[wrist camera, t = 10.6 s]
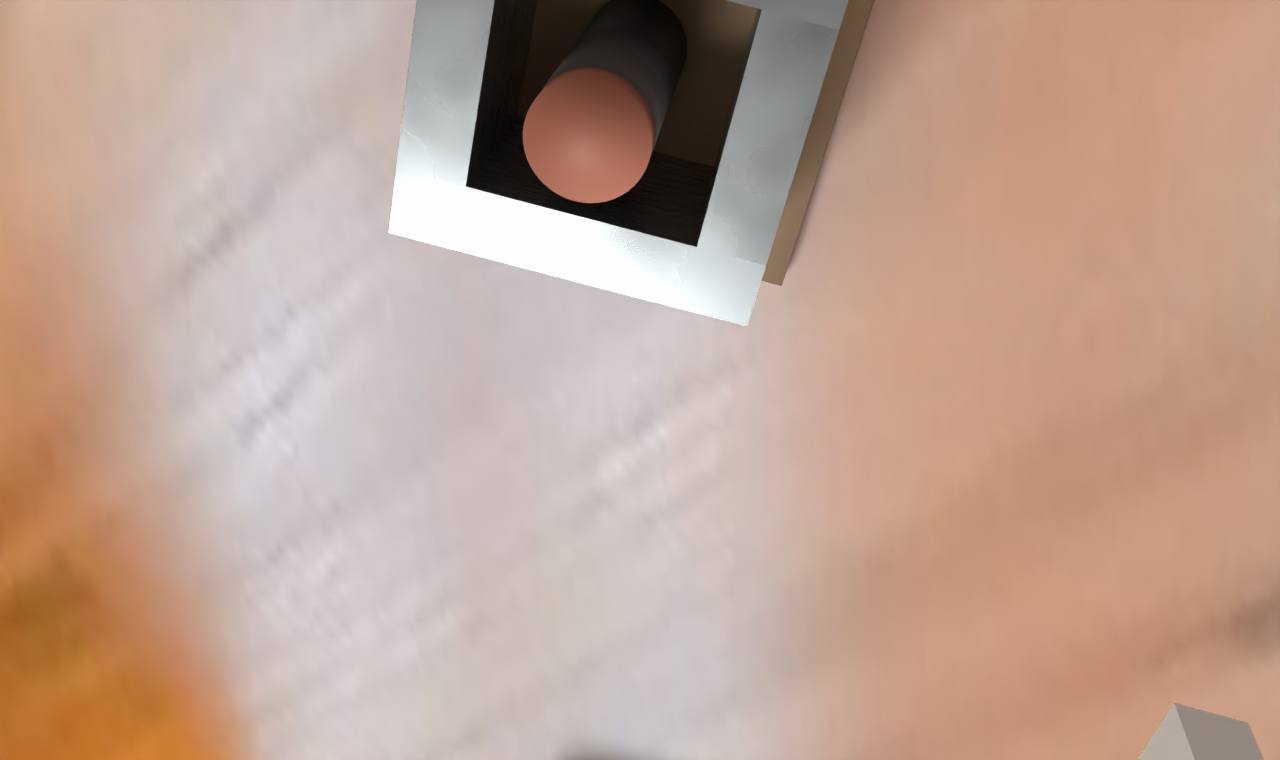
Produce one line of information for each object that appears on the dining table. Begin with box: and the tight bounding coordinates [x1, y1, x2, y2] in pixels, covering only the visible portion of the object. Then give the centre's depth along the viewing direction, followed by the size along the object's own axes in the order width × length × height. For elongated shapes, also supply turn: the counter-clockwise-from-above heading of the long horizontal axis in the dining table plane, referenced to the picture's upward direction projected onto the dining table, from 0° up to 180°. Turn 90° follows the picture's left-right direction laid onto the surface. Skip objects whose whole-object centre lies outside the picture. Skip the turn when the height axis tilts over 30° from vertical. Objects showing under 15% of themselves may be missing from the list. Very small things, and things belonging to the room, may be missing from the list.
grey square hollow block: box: [389, 0, 848, 326], centre depth 25 cm, size 8×8×5 cm
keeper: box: [518, 0, 874, 286], centre depth 25 cm, size 10×10×8 cm
